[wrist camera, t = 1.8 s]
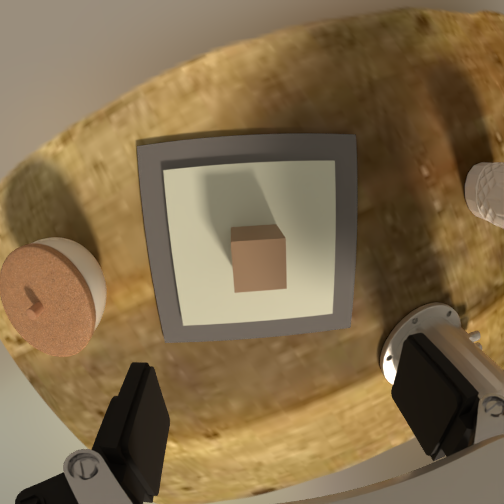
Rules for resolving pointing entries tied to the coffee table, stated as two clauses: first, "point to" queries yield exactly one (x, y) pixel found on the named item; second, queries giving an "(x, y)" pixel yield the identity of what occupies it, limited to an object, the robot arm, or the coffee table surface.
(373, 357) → the coffee table surface
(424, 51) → the coffee table surface
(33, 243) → the lidded jar
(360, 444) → the coffee table surface
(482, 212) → the white cup
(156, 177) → the mat
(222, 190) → the lid sheet
